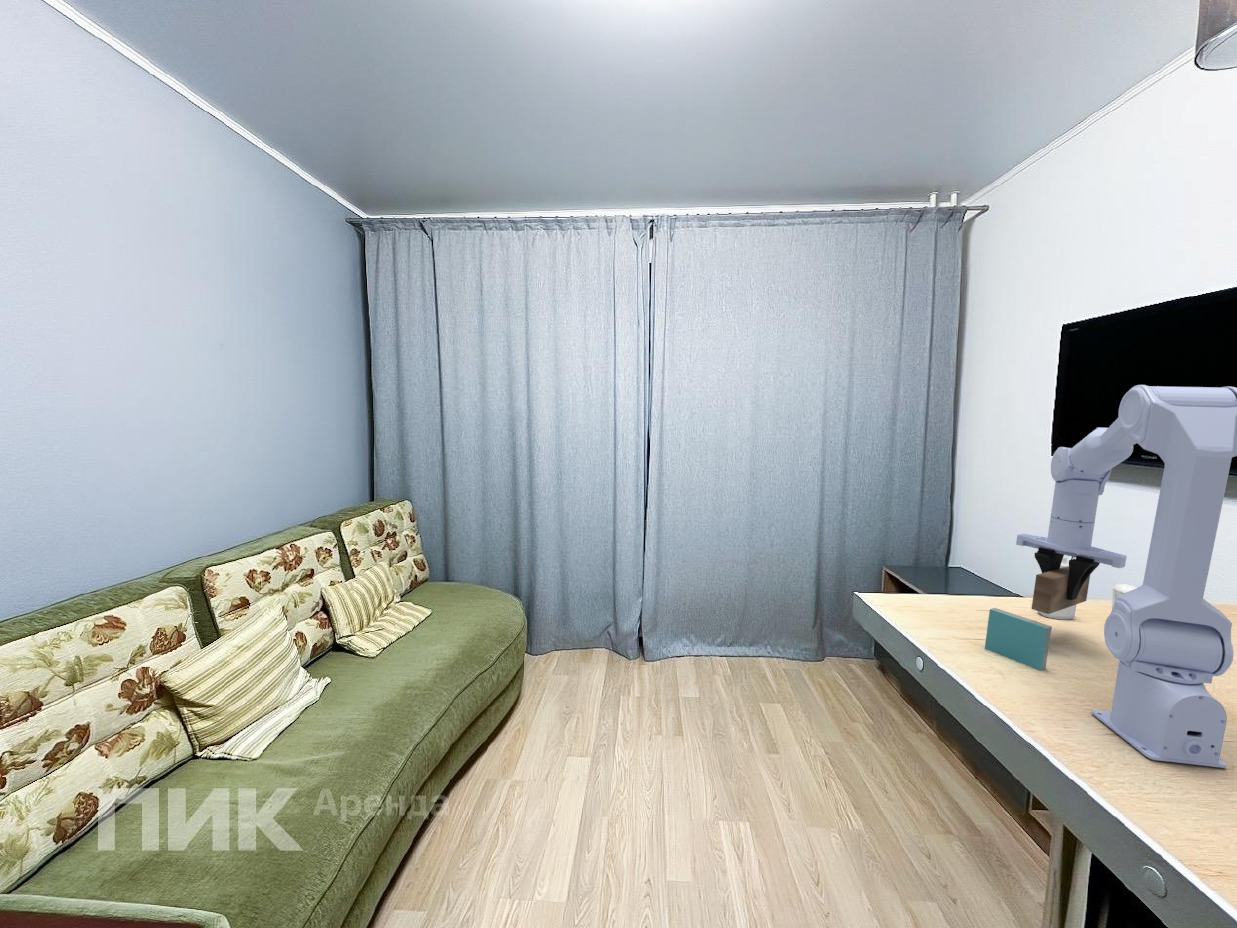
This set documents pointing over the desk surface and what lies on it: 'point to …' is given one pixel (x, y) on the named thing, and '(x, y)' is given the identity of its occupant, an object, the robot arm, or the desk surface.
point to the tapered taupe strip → (1055, 591)
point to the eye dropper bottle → (1064, 613)
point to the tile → (1018, 638)
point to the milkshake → (1121, 590)
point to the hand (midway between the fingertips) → (1060, 595)
